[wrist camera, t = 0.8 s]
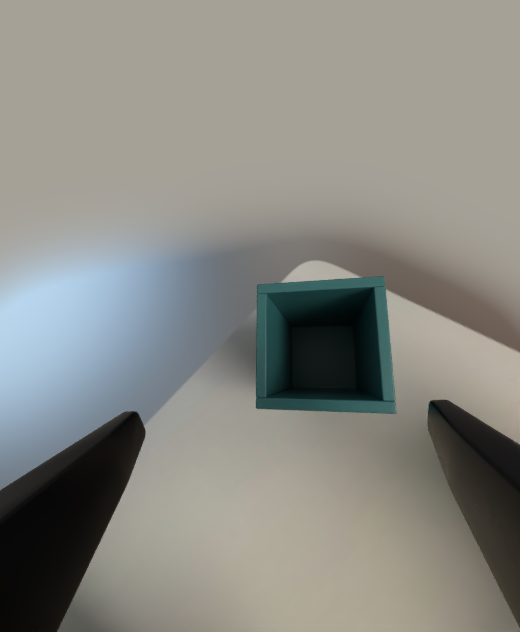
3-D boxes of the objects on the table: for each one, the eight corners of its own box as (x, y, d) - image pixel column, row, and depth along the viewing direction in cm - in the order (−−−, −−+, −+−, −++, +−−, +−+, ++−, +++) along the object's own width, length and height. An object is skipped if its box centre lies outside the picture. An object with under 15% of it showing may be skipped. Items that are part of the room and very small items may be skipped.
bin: (363, 395, 22) (396, 414, 11) (287, 393, 23) (255, 408, 13) (358, 320, 23) (384, 275, 13) (286, 322, 25) (256, 284, 14)
